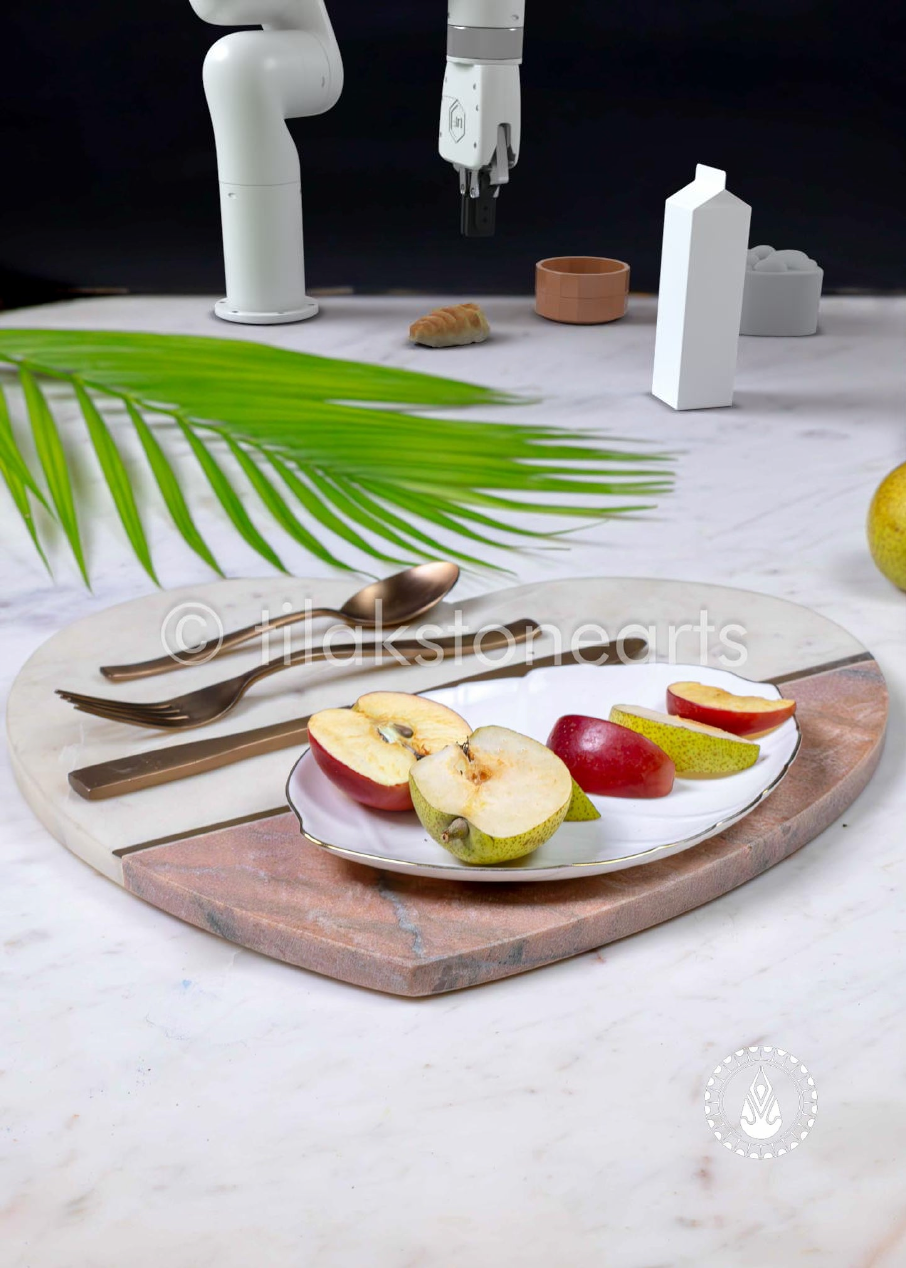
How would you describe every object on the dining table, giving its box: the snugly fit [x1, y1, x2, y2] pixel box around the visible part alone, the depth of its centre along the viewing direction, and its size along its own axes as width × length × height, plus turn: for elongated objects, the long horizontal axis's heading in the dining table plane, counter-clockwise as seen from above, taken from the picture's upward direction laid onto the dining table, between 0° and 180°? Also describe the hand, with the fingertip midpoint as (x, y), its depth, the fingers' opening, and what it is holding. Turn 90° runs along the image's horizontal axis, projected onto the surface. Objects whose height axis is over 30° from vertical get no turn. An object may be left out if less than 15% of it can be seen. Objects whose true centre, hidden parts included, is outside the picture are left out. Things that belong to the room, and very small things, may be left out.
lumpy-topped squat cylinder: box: [739, 244, 824, 337], centre depth 161 cm, size 10×13×9 cm
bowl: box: [533, 256, 631, 325], centre depth 166 cm, size 11×11×6 cm
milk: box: [651, 163, 752, 411], centre depth 130 cm, size 6×6×22 cm
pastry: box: [408, 302, 491, 348], centre depth 154 cm, size 9×7×4 cm
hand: (477, 234), depth 143 cm, fingers closed
